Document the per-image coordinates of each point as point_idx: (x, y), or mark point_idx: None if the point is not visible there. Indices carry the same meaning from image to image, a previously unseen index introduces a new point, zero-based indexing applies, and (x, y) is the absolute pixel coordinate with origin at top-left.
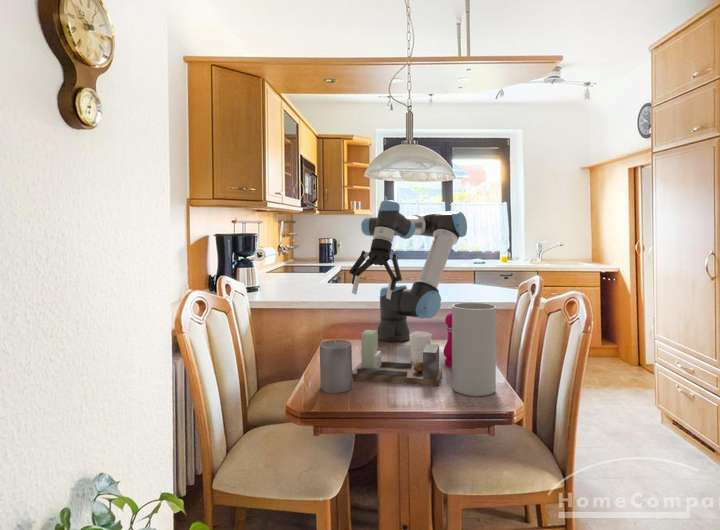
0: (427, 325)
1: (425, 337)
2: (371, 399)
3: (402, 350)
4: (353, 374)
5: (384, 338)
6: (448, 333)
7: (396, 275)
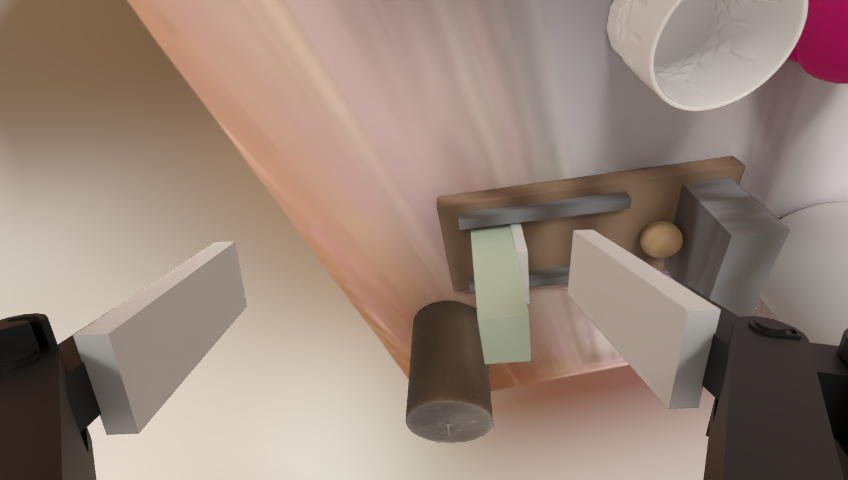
0: None
1: (746, 90)
2: (543, 348)
3: None
4: (463, 289)
5: None
6: None
7: (843, 469)
